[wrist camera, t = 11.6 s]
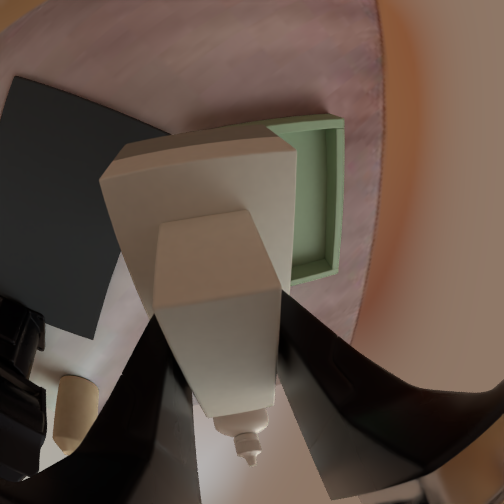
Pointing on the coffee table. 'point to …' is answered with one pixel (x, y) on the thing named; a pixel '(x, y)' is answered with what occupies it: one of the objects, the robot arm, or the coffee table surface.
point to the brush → (210, 252)
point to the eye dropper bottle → (244, 431)
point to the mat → (59, 202)
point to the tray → (314, 191)
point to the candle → (74, 412)
